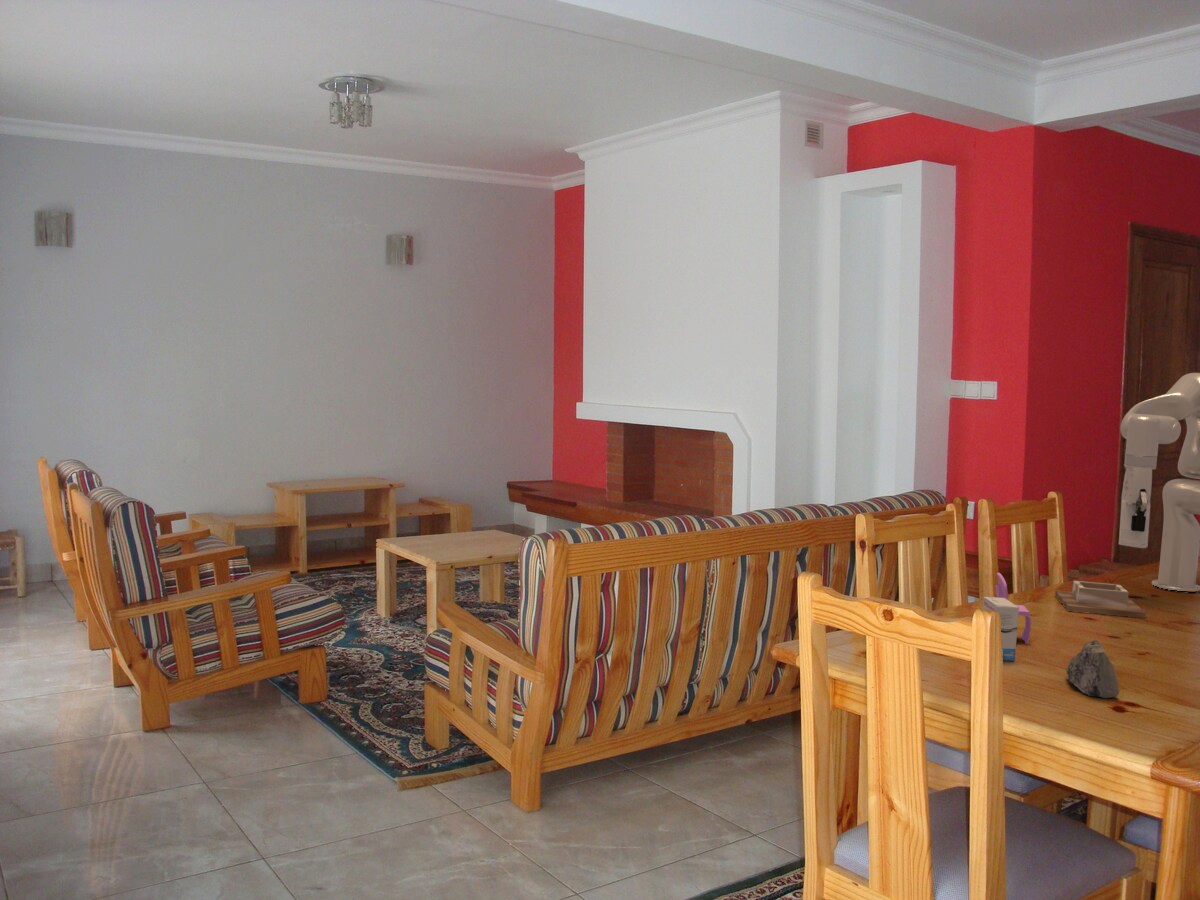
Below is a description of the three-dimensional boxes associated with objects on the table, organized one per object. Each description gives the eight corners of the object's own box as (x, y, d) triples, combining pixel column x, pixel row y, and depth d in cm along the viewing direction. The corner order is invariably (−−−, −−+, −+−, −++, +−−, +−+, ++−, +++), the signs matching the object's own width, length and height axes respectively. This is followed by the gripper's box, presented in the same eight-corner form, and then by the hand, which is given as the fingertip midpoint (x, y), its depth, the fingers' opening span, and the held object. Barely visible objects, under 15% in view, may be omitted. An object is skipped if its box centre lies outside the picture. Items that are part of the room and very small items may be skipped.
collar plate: (1055, 596, 281) (1056, 576, 281) (1127, 602, 277) (1129, 582, 276) (1067, 611, 264) (1069, 590, 263) (1145, 618, 259) (1147, 597, 259)
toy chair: (1031, 646, 230) (1036, 579, 228) (989, 642, 231) (994, 576, 230) (1023, 636, 238) (1029, 572, 236) (983, 632, 240) (988, 568, 238)
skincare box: (1148, 547, 274) (1152, 502, 273) (1140, 548, 271) (1145, 503, 270) (1124, 543, 279) (1128, 499, 278) (1116, 544, 276) (1121, 499, 275)
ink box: (1015, 661, 217) (1020, 606, 216) (992, 660, 217) (996, 605, 216) (1000, 650, 225) (1005, 597, 224) (978, 649, 225) (982, 596, 224)
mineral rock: (1069, 674, 209) (1073, 626, 208) (1127, 686, 203) (1132, 636, 202) (1054, 690, 199) (1059, 639, 198) (1116, 703, 193) (1121, 650, 192)
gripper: (1117, 458, 283) (1110, 523, 284) (1133, 463, 266) (1126, 532, 267) (1147, 460, 281) (1140, 525, 282) (1165, 466, 264) (1158, 535, 265)
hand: (1133, 528), depth 275 cm, fingers closed on skincare box, 6 cm apart
